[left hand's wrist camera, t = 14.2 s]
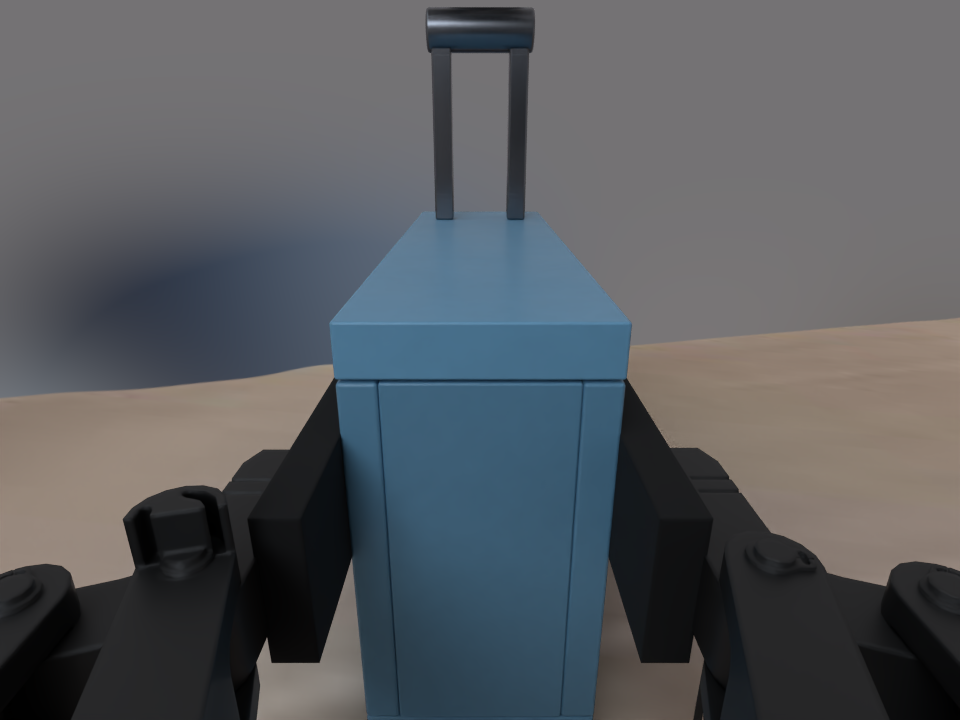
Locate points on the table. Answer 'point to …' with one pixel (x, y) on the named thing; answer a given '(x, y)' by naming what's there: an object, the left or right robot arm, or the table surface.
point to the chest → (480, 542)
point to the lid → (480, 259)
